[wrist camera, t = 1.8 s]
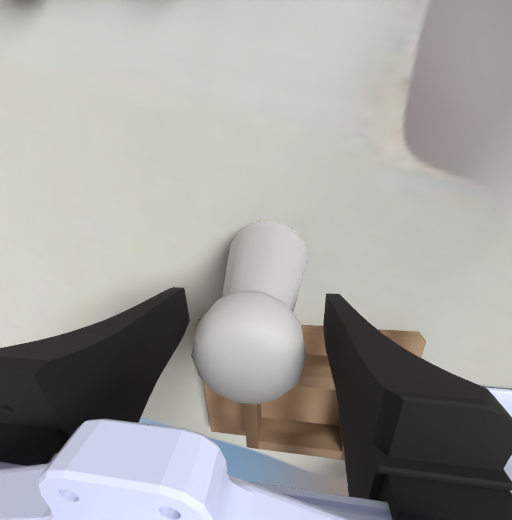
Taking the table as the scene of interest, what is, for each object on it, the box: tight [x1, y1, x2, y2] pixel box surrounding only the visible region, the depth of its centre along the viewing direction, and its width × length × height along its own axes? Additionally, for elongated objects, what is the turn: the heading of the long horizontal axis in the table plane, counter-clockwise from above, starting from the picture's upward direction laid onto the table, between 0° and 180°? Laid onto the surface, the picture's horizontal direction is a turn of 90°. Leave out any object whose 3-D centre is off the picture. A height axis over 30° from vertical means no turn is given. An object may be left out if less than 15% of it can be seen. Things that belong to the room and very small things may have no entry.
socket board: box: [195, 319, 426, 460], centre depth 24 cm, size 20×15×4 cm
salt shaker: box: [191, 221, 308, 405], centre depth 14 cm, size 6×6×13 cm
